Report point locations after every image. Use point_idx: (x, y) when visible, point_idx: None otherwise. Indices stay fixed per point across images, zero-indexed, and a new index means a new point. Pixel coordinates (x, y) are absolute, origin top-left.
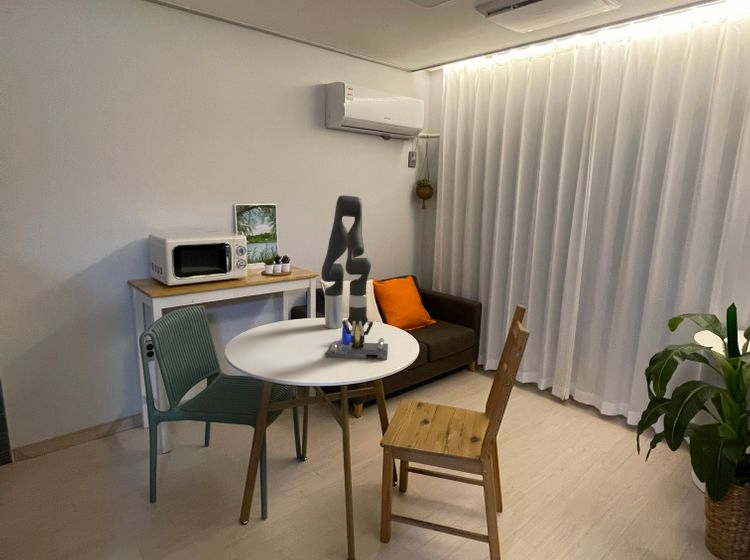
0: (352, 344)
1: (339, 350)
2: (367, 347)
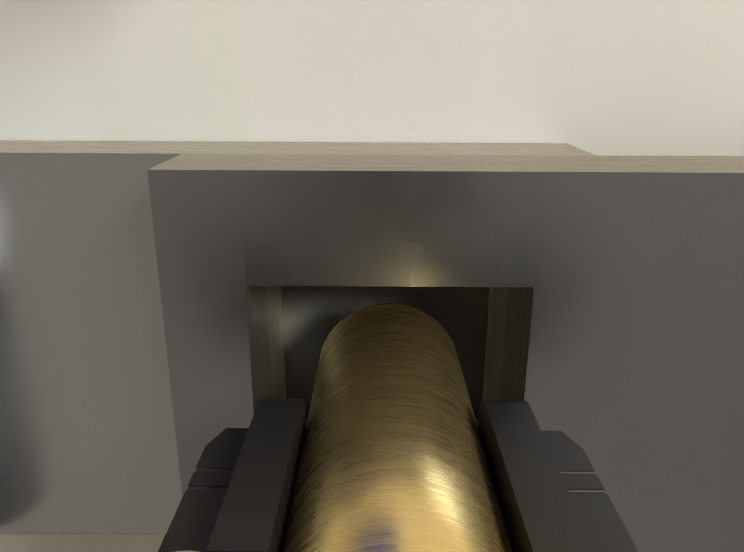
0: (248, 283)
1: (36, 403)
2: (616, 484)
